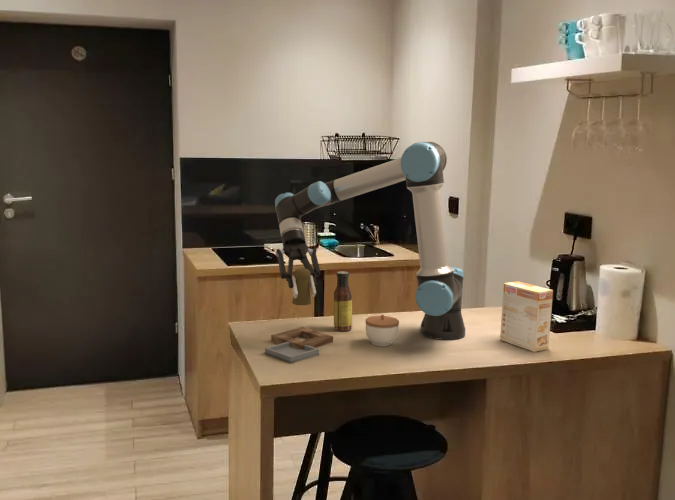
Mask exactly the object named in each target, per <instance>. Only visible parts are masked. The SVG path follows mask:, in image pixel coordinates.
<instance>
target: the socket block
mask: <svg viewBox="0 0 675 500" xmlns="http://www.w3.org/2000/svg"><path fill="white" fill-rule="evenodd" d="M302 336H303V337H302ZM301 337H302V338H305V337H306V339H305V340H300V339H299V338H301ZM270 338H271V339H270V342H273V343H275V344H277V345H278V344H282V343H285V342H291V343H290V346H292V347H295V348H298V349H301V350H302V349H304V345H308V346H311V347H315V348H319V347H322V346H325V345H329V344H331V343H334V335H330V334H328V333H323V332H321V331H318V330H314V329H310V328H308V327H304V326H302V327H297V328H294V329H290V330H286V331H283V332H282V331H281V332H278V333H274V334H271V335H270Z"/></svg>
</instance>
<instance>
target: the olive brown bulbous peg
mask: <svg viewBox="0 0 675 500" xmlns="http://www.w3.org/2000/svg"><path fill="white" fill-rule="evenodd" d="M310 275H311V273H310V271H309V270H308V269H305V267H304V268H295V270H294V272H293V276H295V281H296V286H297V291H298V295H297V298H294V296H293V295H292V301H291V303H292V305H295V306H309V305H311V304H312V299H311V298H312V295H311V290H310V285H309V278H310Z"/></svg>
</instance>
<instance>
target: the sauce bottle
mask: <svg viewBox="0 0 675 500" xmlns="http://www.w3.org/2000/svg"><path fill="white" fill-rule="evenodd" d="M349 274H350V273H349V272H348V271H343V270H342V271H337V272H336V280H337V281H336V282H337V283H336V287H335V290H334V292H333V327H334V330H335V331H338V332H350V331H351V330H352V328H353V327H352V326H353V295H352V293H351V290H350V286H349V276H350V275H349Z"/></svg>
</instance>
